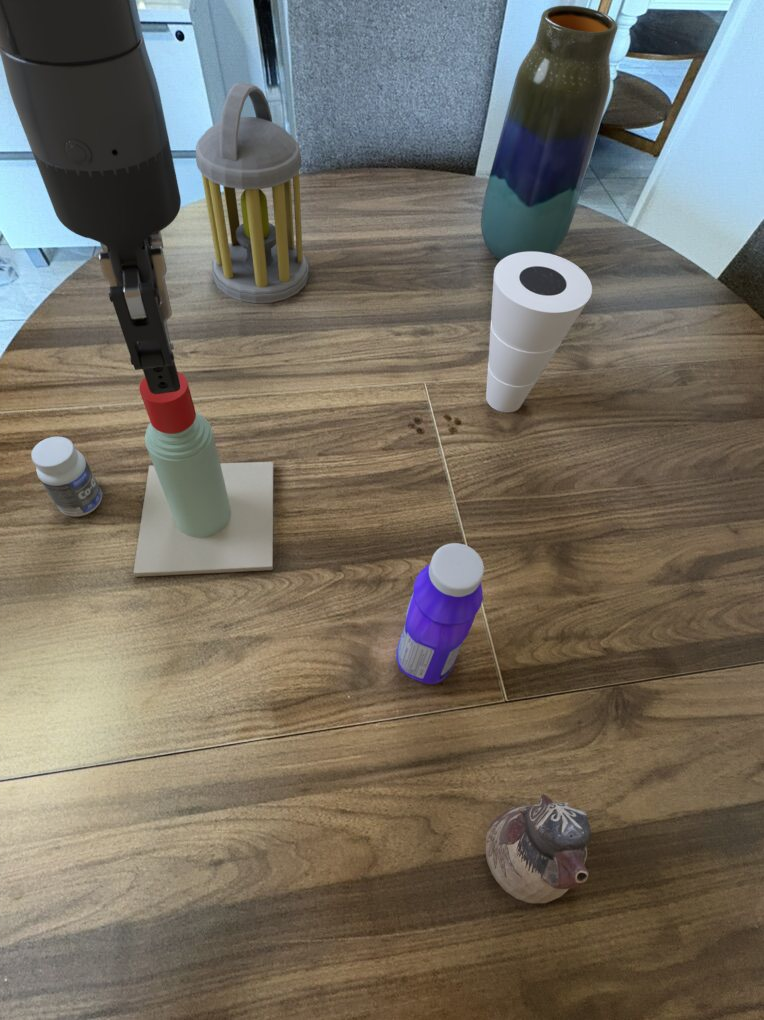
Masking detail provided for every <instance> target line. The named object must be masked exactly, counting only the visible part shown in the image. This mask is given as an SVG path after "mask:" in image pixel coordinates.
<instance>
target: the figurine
mask: <svg viewBox="0 0 764 1020" xmlns="http://www.w3.org/2000/svg"><path fill="white" fill-rule="evenodd" d="M591 835H592V828H591V825H590V822H589V820H588V814H587V812H586V811H585V810H583V809H580V808H577V807H573V806H570V803H568V802H567V801H561V802H555V801H553V800H552V799H551V797H549V795H547V794H541V795H540V800H539V801H538V802H537V803H535V804H533V805H515V806H511V807H510V808H509V809H507V810H505V811H503V812H502V813H501V814H499V815H498V816H496V817H495V818H494V819H492V820H491V821H490V823H489V825H488V829H487V831H486V836H485V858H486V862H487V865H488V867H489V870H490V873H491V875H492V877H493V878H494V879H495V881H496V882H497V884H498V885H499V886H500V887H501V889H503V890H504V891H505V893H507V894H509V895H510V896H512V897H513V898H514V899H516V900H519V901H521V902H525V903H527V904H547V903H549V902H552V901H554V900H557V899H558V898H560V897H562V896H564V894H566V893H567V892H568V891H569V890H570V889H575V888H576V889H577V888H578V887H579V886H580V885H581V884H584V883H585V882H586V881H587V880H588V877H589V871H588V870H587V867H586V865H585V864H586V862H587V857H588V843H589V842H590V838H591Z"/></svg>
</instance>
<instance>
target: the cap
mask: <svg viewBox="0 0 764 1020" xmlns="http://www.w3.org/2000/svg"><path fill="white" fill-rule="evenodd" d="M177 373H178V376H179V381H180V389H179V390H178V391H176V392H169V393H162V394H153V393H151V392H150V390H149V387H148V384H147V381H146V378H145V377H143V379H142V380H141V381H140V383H139V388H138V389H139V394H140V396H141V397H140V398H141V400H142V402H143V405H144V408H145V410H146V414H147V416H148V420H149V421H150V422H151V424H152V426H153V427H154V428H155V429H156V430H158V431H160V432H163V433H169V434H172V433H178V432H182V431H184V430H186V429H188V428H189V427H190V426H191V425H192V424H193V423H194V421H195V418H196V412H197V411H196V409H195V404H194V401H193V397H192V393H191V390H190V386H189V381H188V379H187V378H186V376H185V375H184V374H183V373H181V372H180V371H177ZM150 422H149V423H150Z"/></svg>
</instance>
